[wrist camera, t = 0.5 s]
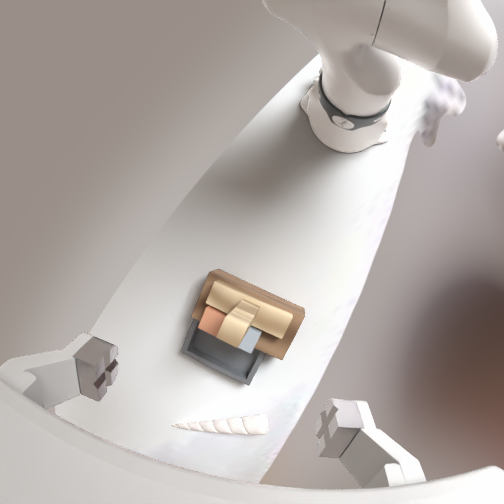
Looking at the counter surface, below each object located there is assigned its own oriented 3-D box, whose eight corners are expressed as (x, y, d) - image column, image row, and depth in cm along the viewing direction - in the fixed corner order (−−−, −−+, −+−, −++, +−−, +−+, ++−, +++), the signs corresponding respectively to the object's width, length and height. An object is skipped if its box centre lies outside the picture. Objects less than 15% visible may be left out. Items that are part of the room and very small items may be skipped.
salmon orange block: (211, 303, 51) (206, 307, 48) (231, 313, 51) (227, 318, 48) (203, 323, 52) (197, 327, 49) (223, 333, 51) (218, 338, 48)
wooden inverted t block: (218, 279, 51) (187, 294, 36) (292, 314, 49) (289, 343, 35) (209, 300, 51) (177, 321, 37) (282, 334, 49) (275, 369, 35)
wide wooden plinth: (218, 268, 57) (209, 272, 51) (304, 308, 55) (304, 316, 49) (201, 309, 58) (191, 316, 52) (284, 348, 55) (282, 360, 50)
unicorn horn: (168, 412, 61) (160, 422, 56) (266, 409, 57) (263, 421, 52) (173, 427, 61) (166, 437, 56) (269, 426, 57) (267, 438, 52)
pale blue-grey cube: (242, 318, 50) (238, 323, 47) (263, 328, 50) (260, 333, 47) (233, 337, 51) (229, 343, 48) (253, 347, 50) (251, 353, 47)
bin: (201, 310, 58) (195, 314, 54) (269, 343, 56) (267, 349, 52) (186, 346, 59) (180, 351, 55) (251, 378, 57) (248, 385, 53)
